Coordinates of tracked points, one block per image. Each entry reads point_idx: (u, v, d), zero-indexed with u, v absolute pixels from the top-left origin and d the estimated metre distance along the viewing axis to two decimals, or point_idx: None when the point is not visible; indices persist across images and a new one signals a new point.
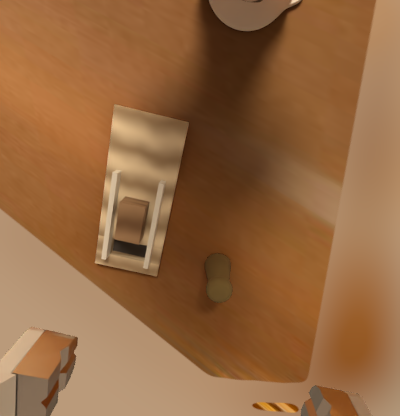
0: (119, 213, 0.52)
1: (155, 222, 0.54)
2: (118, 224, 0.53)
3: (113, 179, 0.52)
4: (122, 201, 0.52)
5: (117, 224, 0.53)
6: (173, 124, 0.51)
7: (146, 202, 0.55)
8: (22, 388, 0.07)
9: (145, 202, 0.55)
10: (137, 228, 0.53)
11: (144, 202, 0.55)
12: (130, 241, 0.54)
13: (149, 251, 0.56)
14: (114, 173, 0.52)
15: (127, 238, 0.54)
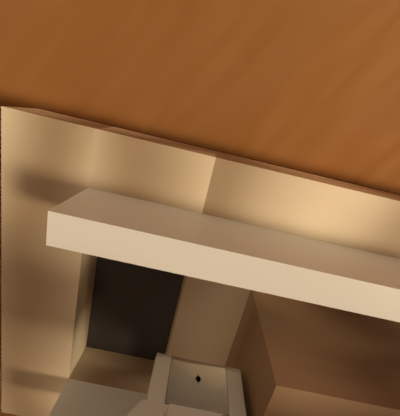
0: None
1: None
2: None
3: None
4: None
5: None
6: None
7: None
8: None
9: None
10: None
11: None
12: None
13: None
14: None
15: None
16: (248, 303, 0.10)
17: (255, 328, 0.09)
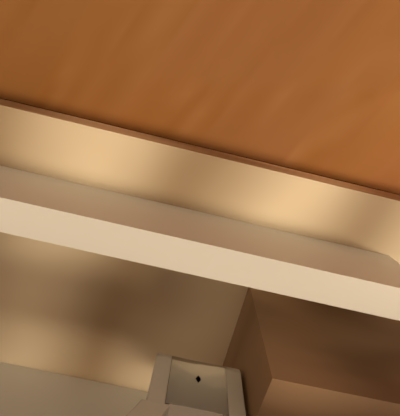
0: None
1: None
2: None
3: (391, 301, 0.08)
4: None
5: (396, 411, 0.07)
6: None
7: None
8: None
9: None
10: None
11: None
12: None
13: None
14: None
15: None
16: (246, 299, 0.10)
17: (252, 323, 0.09)
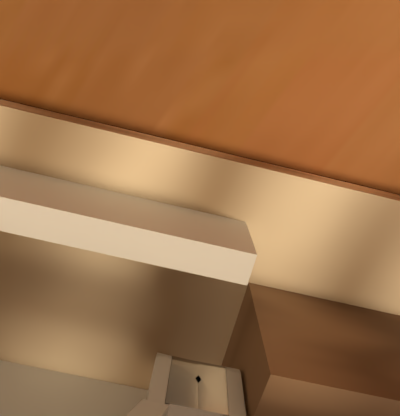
0: None
1: None
2: (387, 414, 0.07)
3: (204, 258, 0.07)
4: None
5: (393, 407, 0.07)
6: None
7: None
8: None
9: None
10: None
11: None
12: None
13: None
14: (246, 265, 0.08)
15: None
16: (245, 297, 0.10)
17: (252, 321, 0.09)
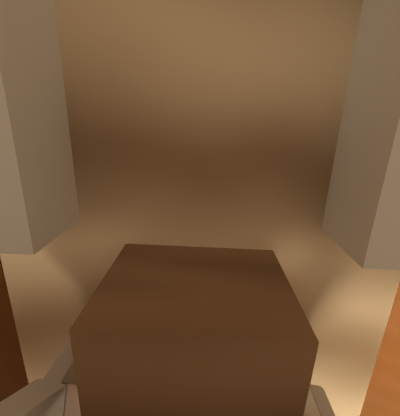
0: None
1: None
2: None
3: (399, 215, 0.06)
4: None
5: None
6: None
7: None
8: (71, 398, 0.07)
9: None
10: None
11: None
12: (154, 346, 0.06)
13: None
14: (388, 261, 0.06)
15: (186, 369, 0.06)
16: (258, 252, 0.09)
17: (271, 276, 0.08)
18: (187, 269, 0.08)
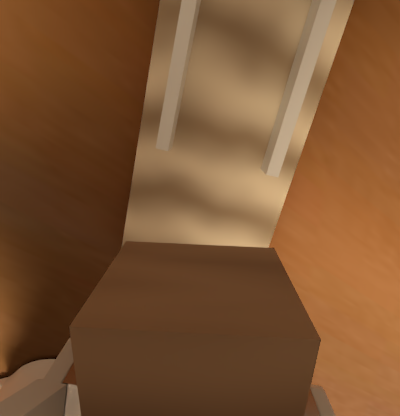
0: None
1: (179, 31, 0.19)
2: None
3: (278, 159, 0.21)
4: None
5: None
6: None
7: None
8: (71, 398, 0.07)
9: None
10: None
11: None
12: (154, 343, 0.05)
13: None
14: (273, 174, 0.22)
15: (186, 366, 0.06)
16: (259, 250, 0.09)
17: (272, 274, 0.08)
18: (188, 266, 0.08)
